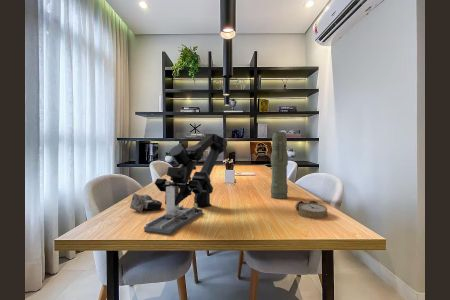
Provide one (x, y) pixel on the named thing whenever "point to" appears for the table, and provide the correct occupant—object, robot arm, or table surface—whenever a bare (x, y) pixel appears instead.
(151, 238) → the table surface
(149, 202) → the caster wheel
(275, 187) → the thermos
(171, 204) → the block
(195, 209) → the rail
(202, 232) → the table surface
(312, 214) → the alarm clock
